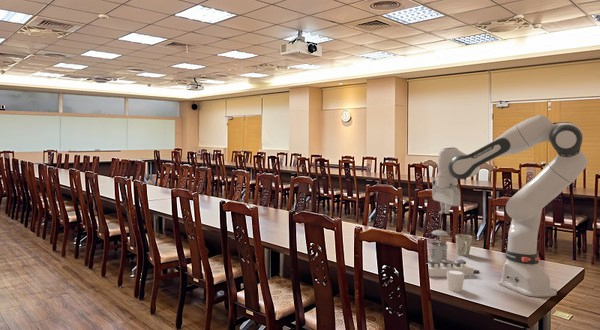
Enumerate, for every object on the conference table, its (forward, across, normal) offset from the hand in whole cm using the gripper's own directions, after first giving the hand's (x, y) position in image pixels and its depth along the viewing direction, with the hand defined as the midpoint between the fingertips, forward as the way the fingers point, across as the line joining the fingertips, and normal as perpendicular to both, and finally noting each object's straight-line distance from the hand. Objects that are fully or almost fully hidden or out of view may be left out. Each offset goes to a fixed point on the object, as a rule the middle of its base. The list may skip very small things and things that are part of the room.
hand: (445, 212), depth 202 cm
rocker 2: (+22, -4, -6) cm, 23 cm away
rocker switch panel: (+27, -4, -2) cm, 27 cm away
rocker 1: (+22, -4, +6) cm, 24 cm away
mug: (+27, +25, -25) cm, 45 cm away
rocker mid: (+22, -4, 0) cm, 23 cm away
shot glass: (+27, -24, +7) cm, 37 cm away
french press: (+27, +18, -7) cm, 33 cm away
